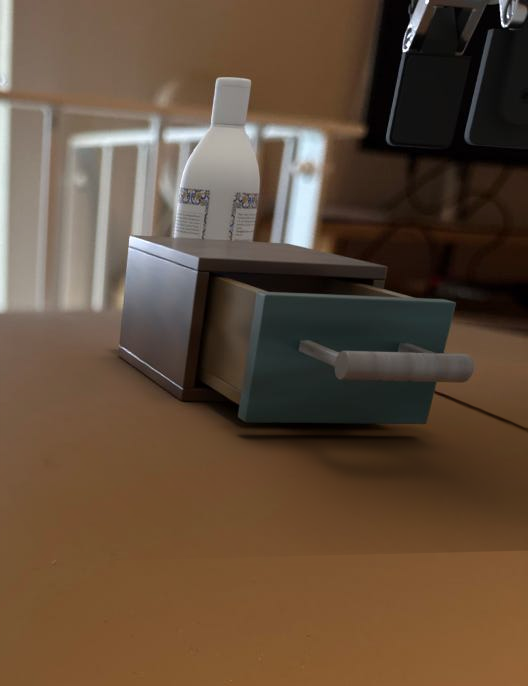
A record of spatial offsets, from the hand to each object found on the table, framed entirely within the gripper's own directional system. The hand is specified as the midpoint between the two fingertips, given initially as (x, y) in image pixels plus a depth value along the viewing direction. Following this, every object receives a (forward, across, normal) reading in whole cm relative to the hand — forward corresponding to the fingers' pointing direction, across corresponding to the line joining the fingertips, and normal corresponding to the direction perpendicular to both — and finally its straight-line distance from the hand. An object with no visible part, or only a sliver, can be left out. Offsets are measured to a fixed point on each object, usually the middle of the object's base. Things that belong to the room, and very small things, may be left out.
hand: (455, 146), depth 44 cm
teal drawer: (+14, -9, -2) cm, 17 cm away
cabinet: (+15, -21, -4) cm, 26 cm away
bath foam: (+15, -44, -3) cm, 46 cm away
